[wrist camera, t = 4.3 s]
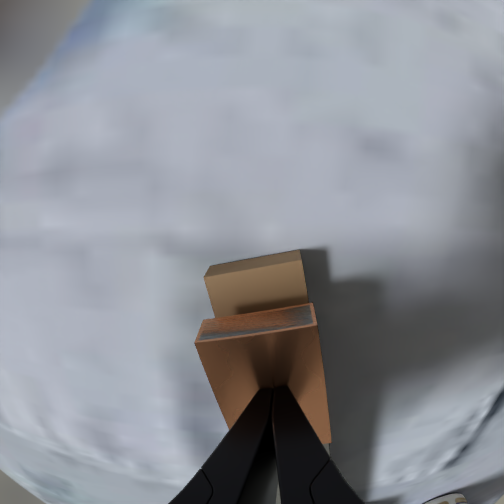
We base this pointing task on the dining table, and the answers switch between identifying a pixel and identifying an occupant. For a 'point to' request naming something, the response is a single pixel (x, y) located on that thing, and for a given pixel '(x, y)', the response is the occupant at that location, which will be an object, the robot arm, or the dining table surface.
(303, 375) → the metal tong arm
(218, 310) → the walnut tong base
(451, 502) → the pill bottle
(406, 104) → the dining table surface
